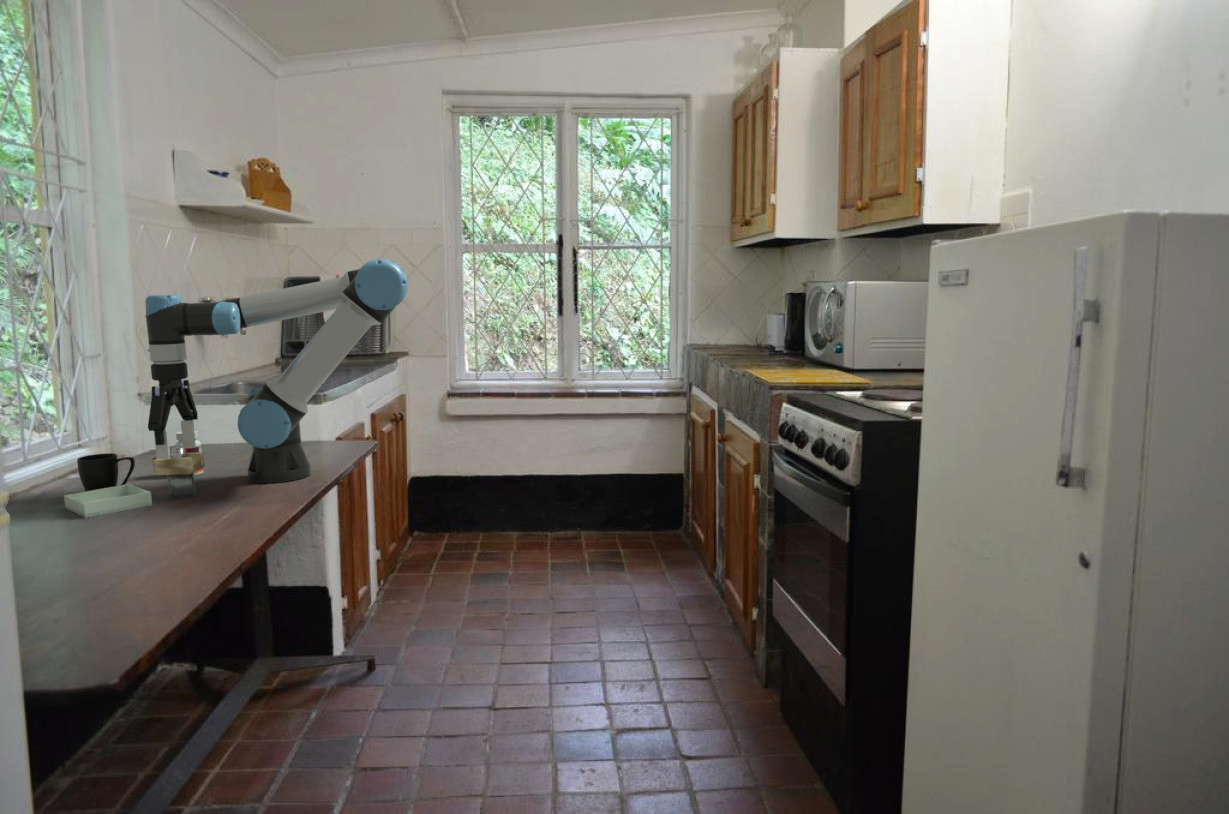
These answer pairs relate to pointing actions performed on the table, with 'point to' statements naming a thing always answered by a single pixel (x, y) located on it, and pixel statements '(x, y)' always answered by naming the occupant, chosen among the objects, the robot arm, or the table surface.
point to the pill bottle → (190, 450)
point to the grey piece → (181, 480)
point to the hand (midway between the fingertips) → (176, 452)
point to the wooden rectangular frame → (179, 464)
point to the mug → (101, 471)
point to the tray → (107, 500)
